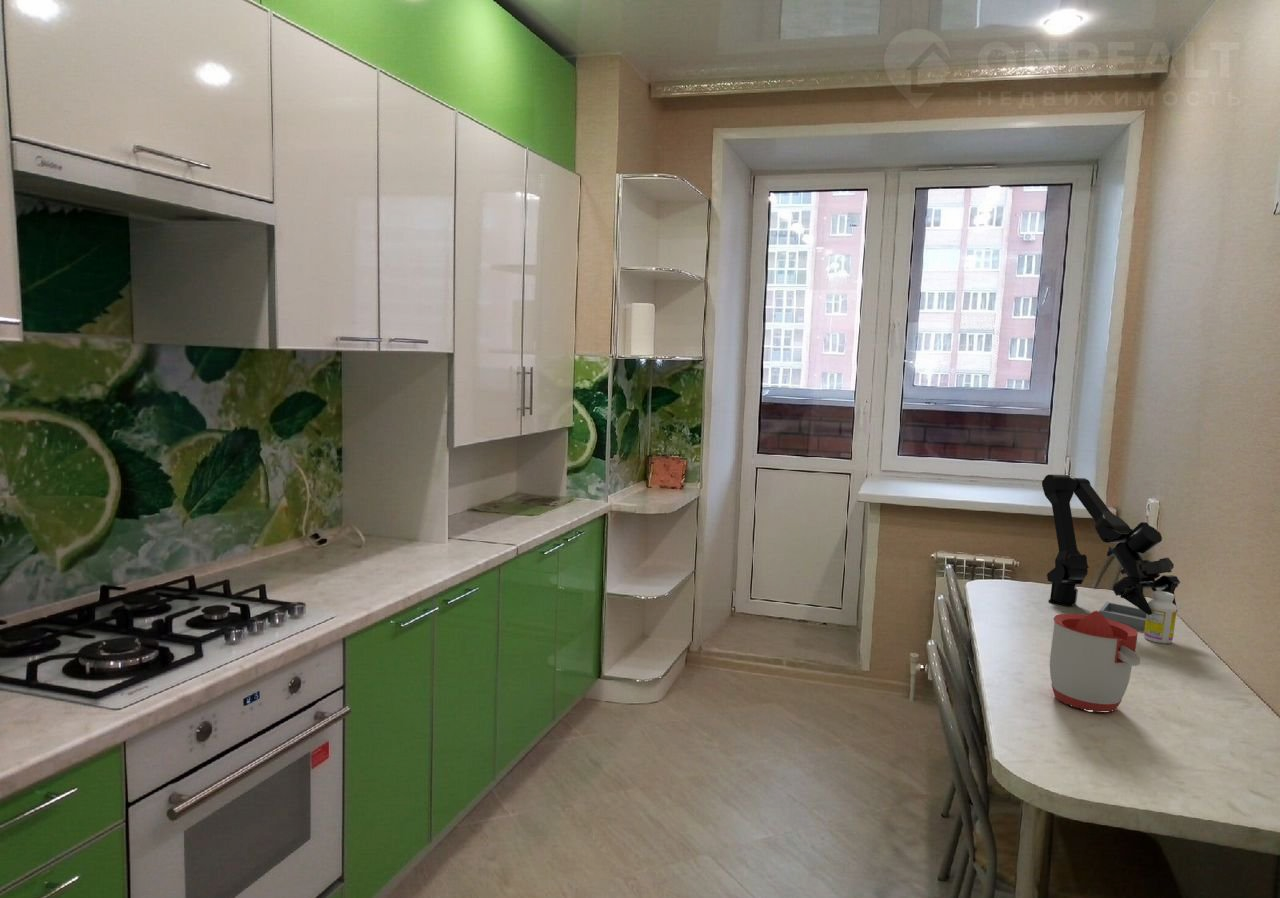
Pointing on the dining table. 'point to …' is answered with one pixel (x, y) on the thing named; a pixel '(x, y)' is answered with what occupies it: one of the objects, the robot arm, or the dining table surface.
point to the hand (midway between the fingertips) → (1163, 613)
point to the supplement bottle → (1161, 618)
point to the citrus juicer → (1091, 660)
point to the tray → (1124, 615)
